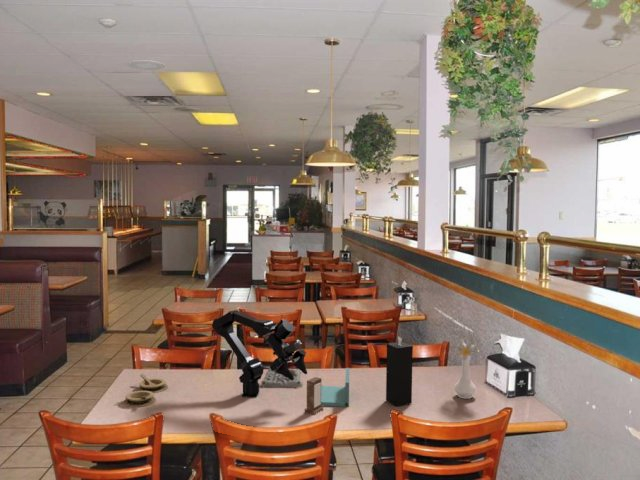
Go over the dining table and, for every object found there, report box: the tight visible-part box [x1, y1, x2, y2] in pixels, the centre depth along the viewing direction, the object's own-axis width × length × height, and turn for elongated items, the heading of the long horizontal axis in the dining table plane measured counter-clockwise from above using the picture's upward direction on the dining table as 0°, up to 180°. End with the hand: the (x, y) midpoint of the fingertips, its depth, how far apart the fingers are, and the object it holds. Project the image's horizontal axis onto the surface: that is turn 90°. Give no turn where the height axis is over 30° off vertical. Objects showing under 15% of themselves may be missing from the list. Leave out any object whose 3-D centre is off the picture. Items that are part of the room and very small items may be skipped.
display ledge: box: [321, 367, 350, 408], centre depth 236 cm, size 16×20×10 cm
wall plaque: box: [260, 368, 304, 389], centre depth 261 cm, size 24×19×4 cm
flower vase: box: [449, 338, 483, 400], centre depth 239 cm, size 13×18×25 cm
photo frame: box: [304, 376, 324, 415], centre depth 221 cm, size 5×6×13 cm
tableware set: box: [113, 373, 169, 409], centre depth 238 cm, size 30×20×6 cm, turn 179°
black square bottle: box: [385, 335, 414, 407], centre depth 231 cm, size 8×8×28 cm
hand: (299, 376), depth 224 cm, fingers open, 9 cm apart
